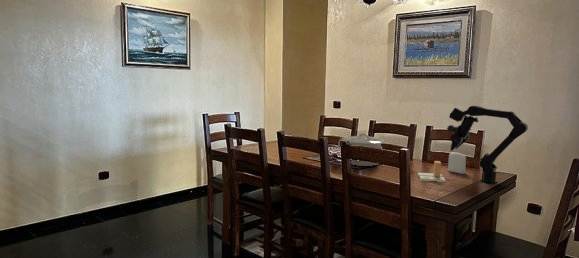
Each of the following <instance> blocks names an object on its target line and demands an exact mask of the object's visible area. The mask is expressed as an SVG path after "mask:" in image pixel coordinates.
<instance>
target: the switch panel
mask: <svg viewBox="0 0 579 258" xmlns="http://www.w3.org/2000/svg"><path fill="white" fill-rule="evenodd" d="M417 177H418V179H419V180H420V181H421V182H429V181H437V182H436V183H446V179H445V177H444V176H443V174H441V173H440V177H435V176H434V175H433V172H431V173H429V172H417Z"/></svg>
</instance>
